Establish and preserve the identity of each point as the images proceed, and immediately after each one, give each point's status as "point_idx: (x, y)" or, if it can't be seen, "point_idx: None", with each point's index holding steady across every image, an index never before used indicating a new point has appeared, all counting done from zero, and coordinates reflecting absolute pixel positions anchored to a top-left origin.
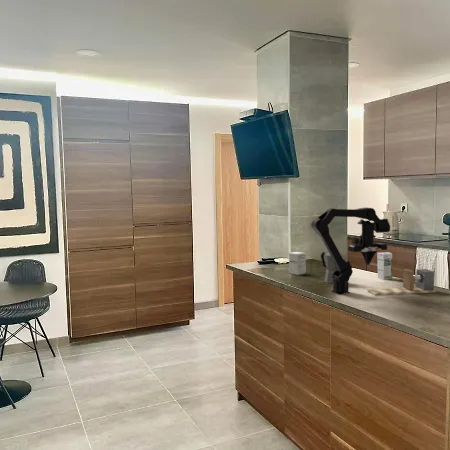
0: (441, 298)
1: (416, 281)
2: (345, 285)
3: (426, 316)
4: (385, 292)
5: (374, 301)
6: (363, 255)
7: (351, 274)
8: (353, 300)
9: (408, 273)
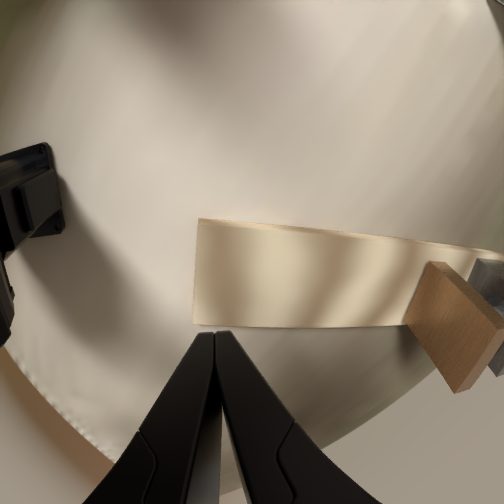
0: (409, 384)
1: (495, 275)
2: (17, 248)
3: (221, 477)
4: (268, 320)
5: (143, 388)
6: (107, 498)
7: (12, 313)
8: (60, 353)
9: (454, 371)
